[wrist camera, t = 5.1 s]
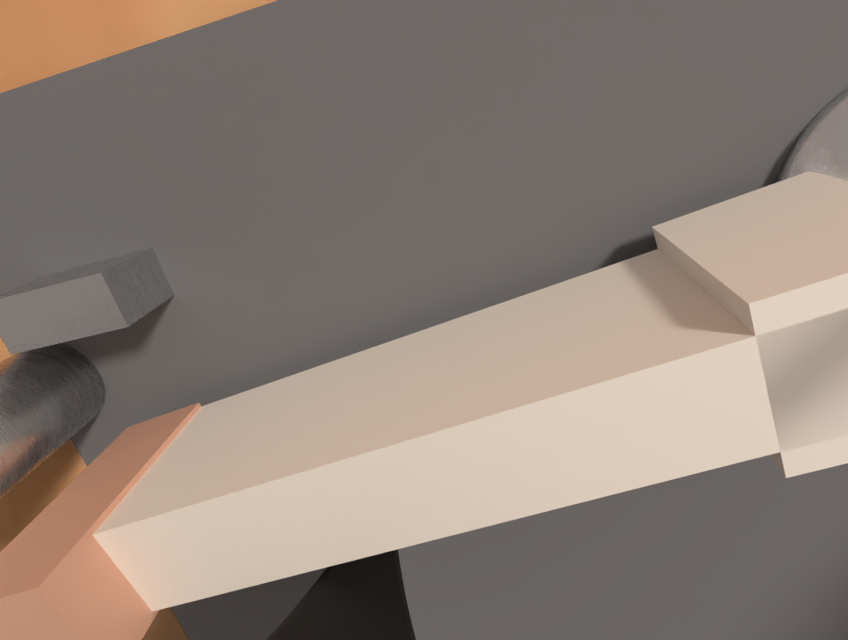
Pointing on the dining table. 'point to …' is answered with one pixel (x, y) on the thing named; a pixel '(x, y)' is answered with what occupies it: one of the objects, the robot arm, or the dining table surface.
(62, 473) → the dining table surface
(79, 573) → the gate
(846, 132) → the post
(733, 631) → the mat
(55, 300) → the post
